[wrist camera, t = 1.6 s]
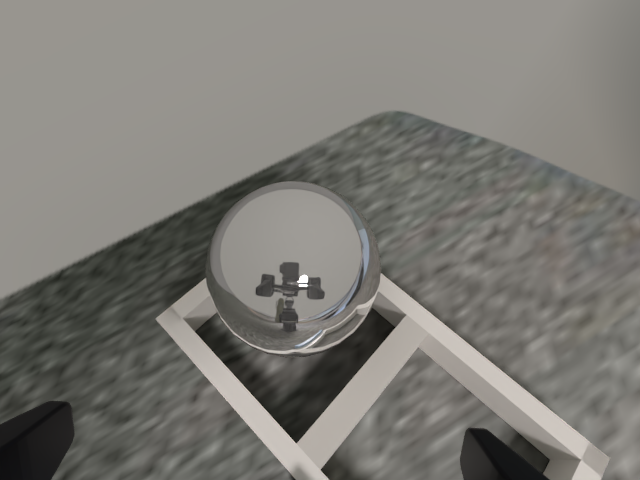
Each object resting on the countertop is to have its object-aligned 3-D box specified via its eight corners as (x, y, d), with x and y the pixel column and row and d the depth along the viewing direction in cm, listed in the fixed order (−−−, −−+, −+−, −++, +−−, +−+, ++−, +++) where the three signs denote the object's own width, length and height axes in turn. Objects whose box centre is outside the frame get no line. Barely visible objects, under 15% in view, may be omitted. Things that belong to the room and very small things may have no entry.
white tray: (463, 692, 15) (504, 751, 12) (160, 339, 22) (138, 320, 19) (575, 458, 20) (625, 458, 17) (296, 225, 26) (296, 194, 23)
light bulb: (219, 372, 21) (140, 286, 11) (261, 266, 24) (232, 124, 14) (339, 407, 20) (379, 352, 10) (364, 293, 24) (412, 164, 13)
